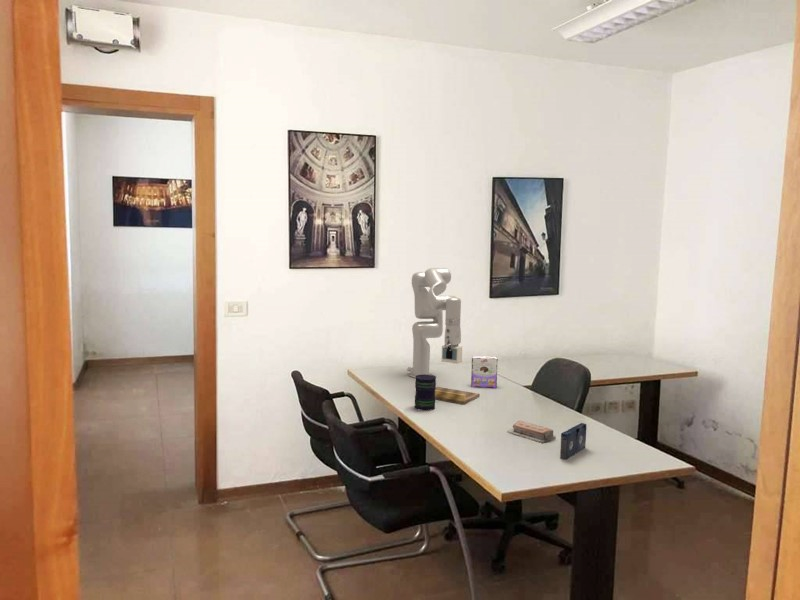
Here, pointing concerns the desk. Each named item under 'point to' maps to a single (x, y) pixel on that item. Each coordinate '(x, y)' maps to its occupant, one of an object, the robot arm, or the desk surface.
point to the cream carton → (453, 354)
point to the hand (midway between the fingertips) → (451, 357)
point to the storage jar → (425, 392)
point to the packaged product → (532, 431)
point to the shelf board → (454, 395)
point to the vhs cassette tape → (573, 441)
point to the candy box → (484, 371)
